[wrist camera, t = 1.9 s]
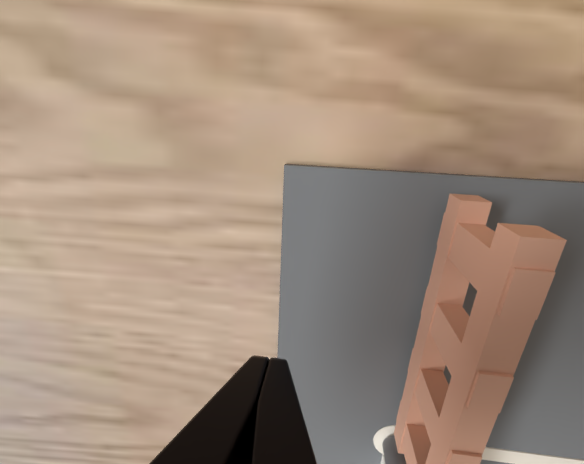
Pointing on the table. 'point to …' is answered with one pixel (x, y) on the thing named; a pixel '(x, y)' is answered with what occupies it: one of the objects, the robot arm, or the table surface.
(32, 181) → the table surface
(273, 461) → the robot arm
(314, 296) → the mat
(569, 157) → the table surface
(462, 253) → the fence gate
